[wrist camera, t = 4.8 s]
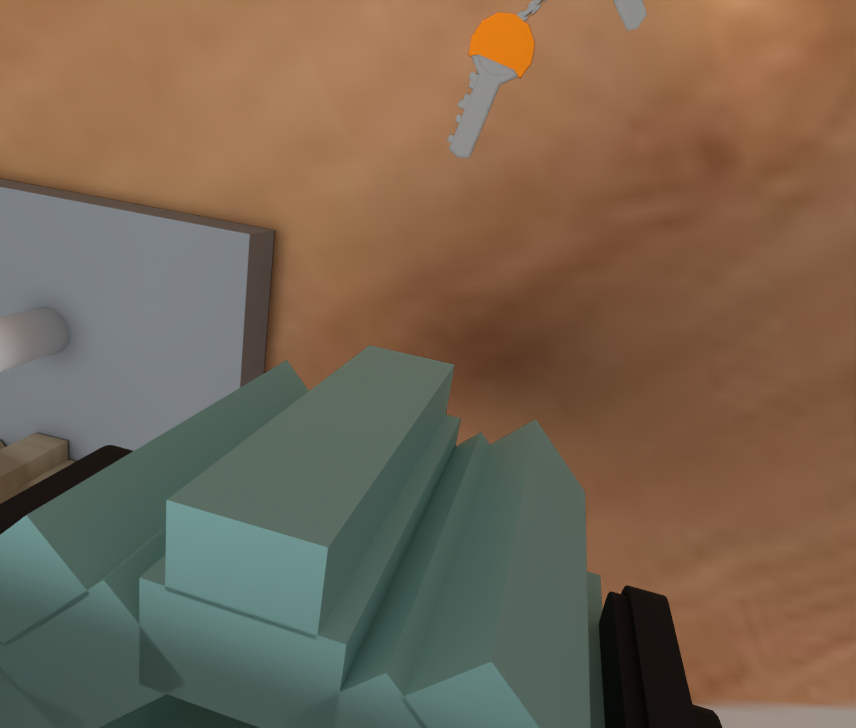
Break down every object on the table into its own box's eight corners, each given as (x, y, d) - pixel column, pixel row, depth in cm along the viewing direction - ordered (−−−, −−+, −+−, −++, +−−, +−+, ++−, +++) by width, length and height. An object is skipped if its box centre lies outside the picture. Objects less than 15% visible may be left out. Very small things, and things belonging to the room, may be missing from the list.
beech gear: (145, 460, 24) (70, 512, 20) (143, 629, 26) (77, 703, 23) (-40, 414, 25) (-144, 455, 21) (-24, 582, 28) (-113, 644, 24)
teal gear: (650, 408, 9) (734, 667, 4) (541, 768, 11) (515, 1194, 6) (203, 307, 10) (-125, 413, 5) (191, 648, 12) (-44, 929, 8)
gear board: (274, 230, 22) (183, 245, 17) (243, 633, 28) (168, 746, 23) (-93, 161, 24) (-285, 153, 19) (-50, 551, 30) (-186, 635, 25)
